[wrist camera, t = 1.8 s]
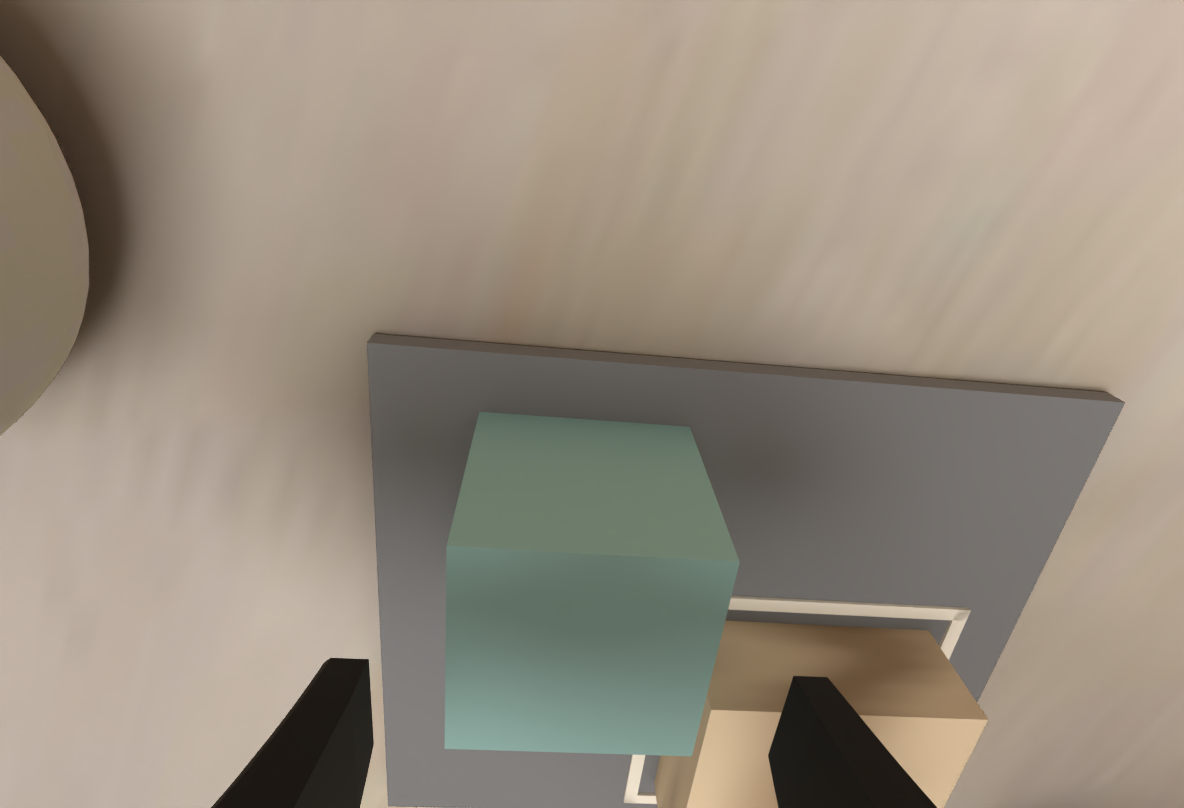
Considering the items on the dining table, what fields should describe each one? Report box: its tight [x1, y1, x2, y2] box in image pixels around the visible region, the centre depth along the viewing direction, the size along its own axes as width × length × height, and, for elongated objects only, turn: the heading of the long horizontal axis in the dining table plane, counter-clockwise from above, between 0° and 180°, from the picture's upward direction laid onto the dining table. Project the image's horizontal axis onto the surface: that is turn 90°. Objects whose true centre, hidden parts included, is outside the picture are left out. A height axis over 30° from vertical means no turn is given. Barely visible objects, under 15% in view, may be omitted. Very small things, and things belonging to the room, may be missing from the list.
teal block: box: [445, 412, 740, 756], centre depth 15 cm, size 5×5×5 cm
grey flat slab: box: [367, 334, 1125, 808], centre depth 19 cm, size 18×16×1 cm
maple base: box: [654, 621, 988, 808], centre depth 19 cm, size 7×7×3 cm
